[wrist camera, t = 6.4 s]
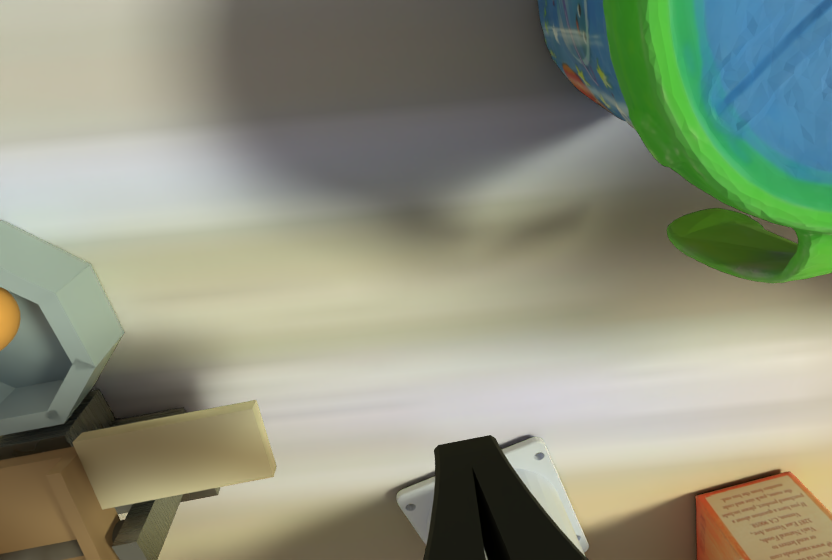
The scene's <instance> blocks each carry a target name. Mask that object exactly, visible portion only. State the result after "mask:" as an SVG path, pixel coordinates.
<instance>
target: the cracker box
mask: <svg viewBox="0 0 832 560" xmlns="http://www.w3.org/2000/svg"><path fill="white" fill-rule="evenodd" d="M695 498H696V534H697V560H832V513H831V512H830V511H829V510H828V509H827V508H826V507H825V506H824V505H823V504H822V503H821V502H820V501H819V500H818V499H817V498H816V497H815V496H814V495H813V494H812V493H811V492H810V491H809V490H808V489H807V488H806V487H805V486H804V485H803V484H802V483H801V482H800V481H799V480H798V479H797V477H796V476H794V475H793V474H792V473H791V472H784V473H781V474H777V475H773V476H769V477H765V478H761V479H758V480H754V481H750V482H746V483H743V484H739V485H735V486H731V487H727V488H723V489H720V490H716V491H712V492H708V493H704V494H701V495H697V496H696V497H695Z"/></svg>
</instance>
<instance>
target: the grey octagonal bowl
mask: <svg viewBox="0 0 832 560" xmlns="http://www.w3.org/2000/svg"><path fill="white" fill-rule="evenodd" d="M0 287H2V288H4V289H6V290H7V291H8V292H9V293H10V294H11V295H12V296H13V297H14V299H15V300H16V302H17V304H18V306H19V310H20V317H21V319H20V326H19V329H18V331H17V333H16V335H15V337H14V338H13V340H12V341H11V342H10V343H9V344H8V345H7V346H6V347H5V348H4V349H2V350H1V351H0V436H1V435H7V434H12V433H17V432H23V431H28V430H33V429H39V428H44V427H49V426H55V425H60V424H64V423H65V422H66V421H67V419H68V418H69V417H70V416H71V414H72V413H73V412H74V410H75V409H76V408H77V407H78V405H79V404H80V403H81V402H82V400H83V399H84V398H85V396H86V395H87V394H88V393H89V391H90V390H91V389H92V387H93V386H94V385H95V383H96V381H97V379H98V377H99V376H100V374H101V372H102V370H103V369H104V367H105V365H106V363H107V362H108V360H109V358H110V356H111V355H112V353H113V351H114V349H115V348H116V346H117V344H118V342H119V341H120V339H121V337H122V335H123V334H124V331H123V329H122V327H121V325H120V323H119V321H118V319H117V317H116V314H115V312H114V310H113V308H112V306H111V304H110V302H109V300H108V298H107V296H106V294H105V292H104V290H103V288H102V286H101V284H100V282H99V280H98V278H97V276H96V274H95V272H94V270H93V268H92V266H91V264H89V263H87V262H85V261H83V260H81V259H79V258H77V257H75V256H73V255H71V254H69V253H67V252H65V251H63V250H61V249H59V248H57V247H55V246H53V245H51V244H49V243H47V242H45V241H43V240H41V239H39V238H37V237H35V236H33V235H31V234H29V233H27V232H25V231H23V230H21V229H19V228H17V227H15V226H13V225H11V224H9V223H7V222H5V221H4V220H2V221H0Z"/></svg>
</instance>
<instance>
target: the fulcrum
mask: <svg viewBox="0 0 832 560" xmlns="http://www.w3.org/2000/svg"><path fill="white" fill-rule="evenodd" d="M184 413H186V412H185V409H184V407H183V408H178V409H173V410H167V411H162V412H157V413H151V414H146V415H141V416H135V417H130V418H125V419H119V420H114V419H115V417H114V416H113V414H112V412H111V410H110V408H109V407H108V405H107V403H106V401H105V399H104V398H103V396H102V394H101V392H100V390H95V391H90V392H89V393H88V394H87V395H86V396H85V398H84V399H83V400H82V402H81V403H80V404H79V405H78V407H77V408H76V409H75V410H74V412H73V413H72V414H71V416H70V417H69V418H68V419H67V421H66V422H65V423H64V424H60V425H55V426H49V427H44V428H39V429H33V430H28V431H23V432H17V433H12V434H7V435H1V436H0V460H5V459H10V458H15V457H21V456H26V455H31V454H36V453H42V452H47V451H52V450H58V449H63V448H68V447H74V445H73V443H72V442H73V441H74V440H75V439H76V438H77V437H78V436H79V435H80V434H81V433H83V432H88V431H93V430H99V429H104V428H109V427H115V426H120V425H125V424H131V423H136V422H141V421H147V420H152V419H157V418H163V417H168V416H173V415H179V414H184ZM219 490H220V487H218V488H212V489H207V490H202V491H197V492H191V493H186V494H181V495H176V496H171V497H165V498H160V499H155V500H150V501H144V502H139V503H134V504H129V505H123V506H118V507H115V509H116V512H117V514H121V513H127V512H128V514H127V516H126V518H125V521H124V523H123V525H122V527H121V529H120V531H119V533H118V535H117V537H116V539H115V541H114V543H113V545H112V548H113V550H114V551H115V553H116V554H117V556H118V557H119V559H120V560H157V559H158V557H159V554H160V551H161V549H162V546H163V544H164V541H165V539H166V536H167V534H168V531H169V529H170V526H171V524H172V521H173V519H174V516H175V514H176V511H177V509H178V506H179V503H180V502H184V501H189V500H194V499H200V498H205V497H210V496H215V495H218V493H219Z"/></svg>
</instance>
